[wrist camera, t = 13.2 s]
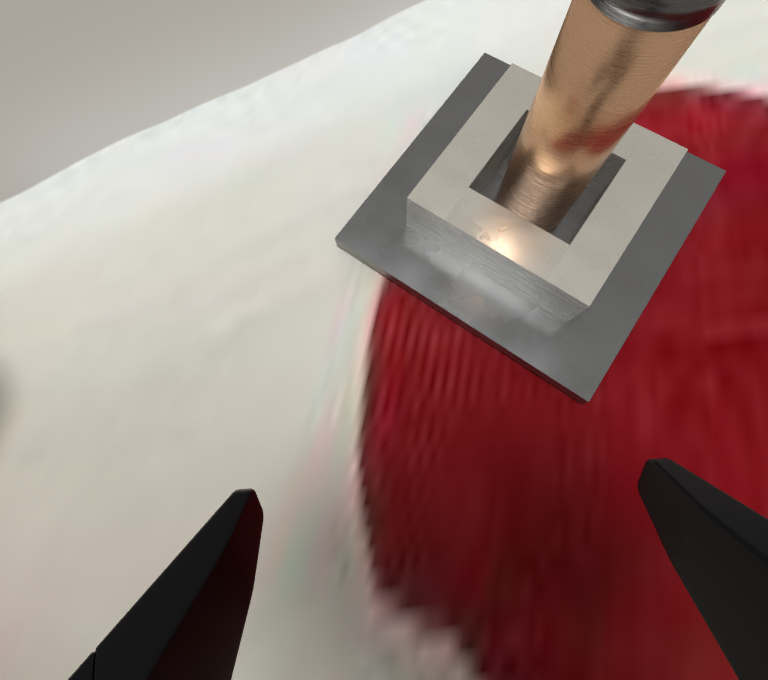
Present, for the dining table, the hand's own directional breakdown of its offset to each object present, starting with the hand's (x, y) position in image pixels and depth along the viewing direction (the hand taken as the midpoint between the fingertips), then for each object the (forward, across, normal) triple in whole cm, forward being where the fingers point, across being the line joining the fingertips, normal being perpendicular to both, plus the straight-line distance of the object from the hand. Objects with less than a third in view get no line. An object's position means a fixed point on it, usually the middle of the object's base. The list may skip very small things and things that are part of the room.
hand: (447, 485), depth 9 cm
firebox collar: (+20, -8, -1) cm, 22 cm away
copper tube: (+19, -8, -2) cm, 21 cm away
